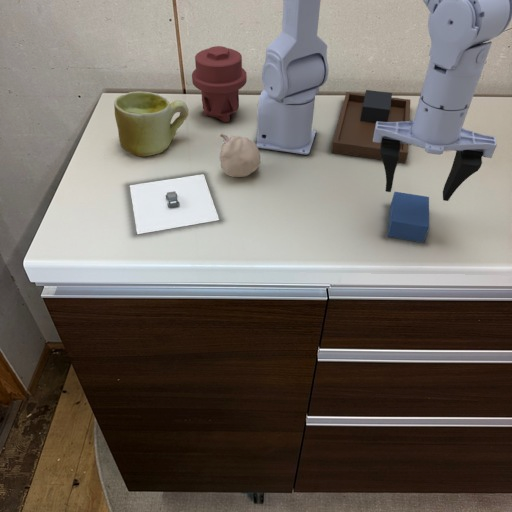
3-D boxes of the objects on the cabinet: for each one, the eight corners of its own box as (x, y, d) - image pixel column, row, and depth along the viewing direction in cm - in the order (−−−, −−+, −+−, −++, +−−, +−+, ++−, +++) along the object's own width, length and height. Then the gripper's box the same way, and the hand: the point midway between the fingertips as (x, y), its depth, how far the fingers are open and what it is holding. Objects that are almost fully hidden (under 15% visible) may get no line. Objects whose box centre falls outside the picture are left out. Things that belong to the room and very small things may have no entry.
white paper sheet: (203, 174, 78) (202, 166, 77) (219, 220, 70) (218, 212, 69) (129, 185, 75) (128, 177, 74) (137, 234, 67) (135, 226, 66)
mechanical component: (184, 117, 91) (217, 97, 97) (225, 133, 87) (256, 111, 93) (177, 52, 82) (214, 35, 88) (222, 66, 78) (257, 48, 84)
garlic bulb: (226, 160, 81) (224, 117, 75) (263, 164, 80) (264, 121, 74) (216, 182, 76) (214, 139, 70) (255, 187, 75) (256, 143, 70)
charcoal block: (360, 121, 89) (362, 106, 87) (363, 104, 94) (366, 89, 92) (386, 124, 89) (390, 109, 86) (388, 107, 93) (392, 92, 91)
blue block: (387, 236, 67) (392, 220, 65) (390, 207, 72) (394, 191, 70) (423, 243, 66) (429, 227, 64) (423, 212, 71) (429, 196, 69)
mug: (108, 156, 78) (111, 93, 73) (116, 142, 87) (119, 85, 83) (183, 166, 80) (189, 106, 76) (183, 151, 89) (189, 96, 85)
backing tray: (331, 152, 83) (332, 142, 81) (344, 101, 96) (346, 91, 95) (404, 163, 81) (407, 152, 79) (407, 109, 94) (410, 99, 93)
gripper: (380, 107, 54) (361, 201, 64) (514, 123, 52) (473, 218, 61) (384, 81, 59) (365, 171, 68) (507, 95, 56) (470, 187, 66)
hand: (416, 192), depth 65 cm, fingers open, 7 cm apart
